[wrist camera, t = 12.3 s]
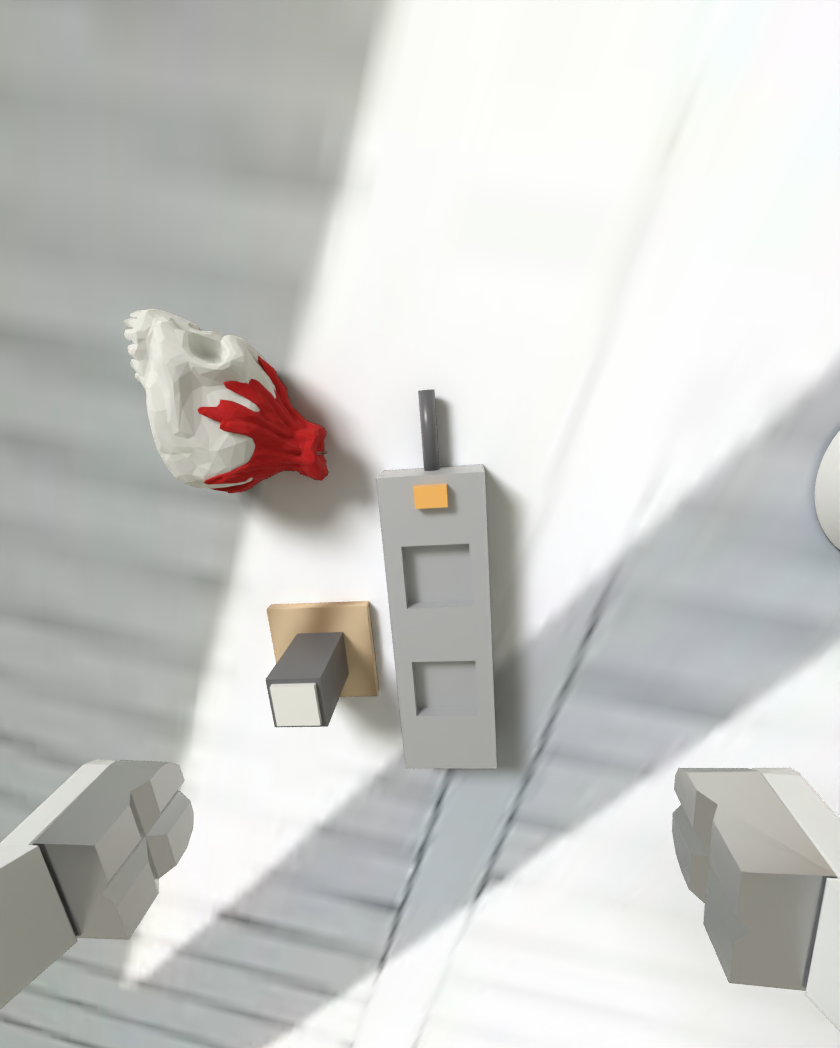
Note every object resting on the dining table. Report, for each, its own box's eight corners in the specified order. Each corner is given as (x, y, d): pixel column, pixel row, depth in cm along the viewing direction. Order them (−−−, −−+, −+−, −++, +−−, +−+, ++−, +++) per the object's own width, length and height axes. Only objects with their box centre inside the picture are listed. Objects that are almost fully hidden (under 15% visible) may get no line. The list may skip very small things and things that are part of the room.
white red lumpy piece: (173, 311, 36) (361, 379, 37) (147, 450, 39) (323, 506, 41) (100, 289, 27) (349, 379, 29) (74, 471, 30) (301, 541, 32)
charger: (343, 631, 41) (318, 681, 34) (348, 673, 42) (326, 730, 35) (297, 633, 42) (263, 682, 34) (304, 674, 43) (272, 730, 36)
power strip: (479, 386, 36) (482, 385, 31) (493, 738, 44) (497, 775, 40) (376, 394, 36) (365, 394, 32) (410, 738, 45) (404, 775, 40)
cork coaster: (368, 601, 41) (366, 605, 40) (378, 689, 44) (376, 696, 43) (271, 604, 42) (266, 609, 41) (286, 690, 44) (282, 697, 43)
